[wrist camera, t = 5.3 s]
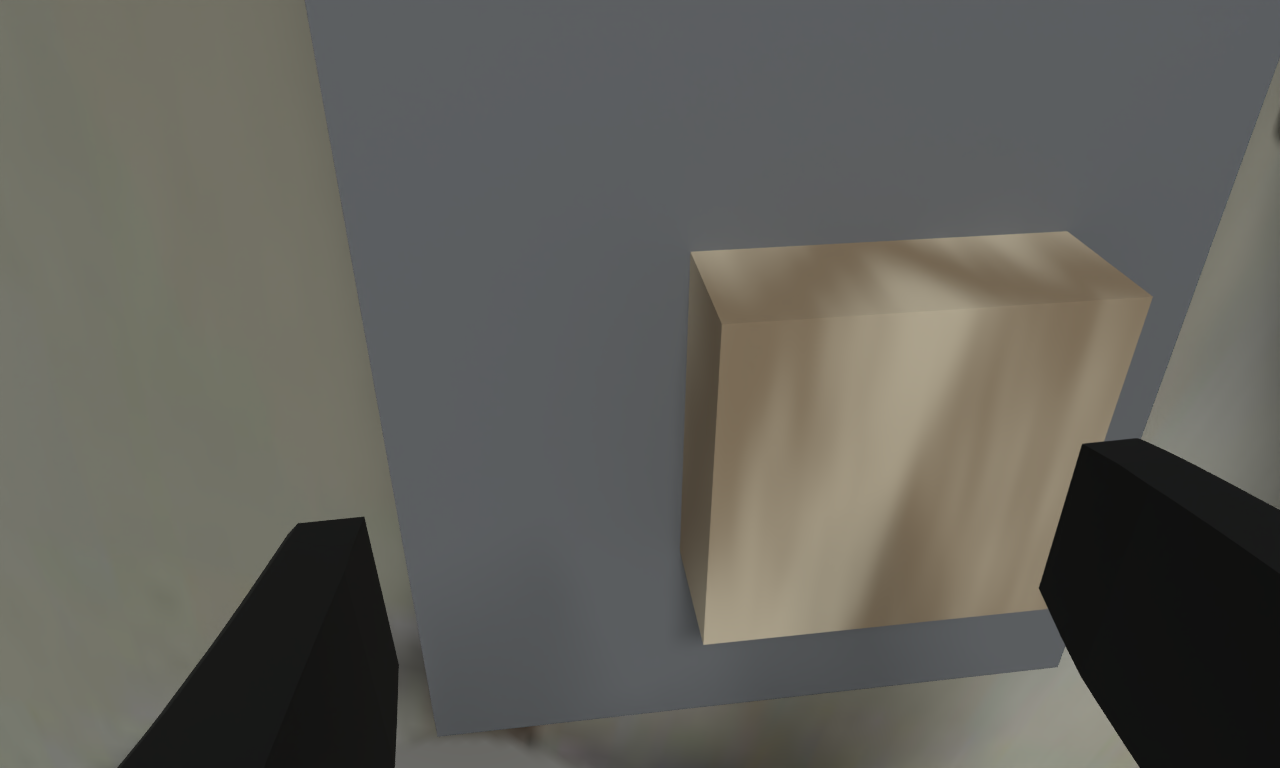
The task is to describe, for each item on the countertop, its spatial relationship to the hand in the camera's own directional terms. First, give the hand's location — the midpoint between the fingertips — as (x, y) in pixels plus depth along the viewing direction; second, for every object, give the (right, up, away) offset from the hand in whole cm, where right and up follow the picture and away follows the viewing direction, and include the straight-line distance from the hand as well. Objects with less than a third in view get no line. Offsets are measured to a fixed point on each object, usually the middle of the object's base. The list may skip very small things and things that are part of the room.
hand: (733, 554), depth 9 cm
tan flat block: (0, 0, +10) cm, 10 cm away
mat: (+2, +1, +12) cm, 12 cm away
